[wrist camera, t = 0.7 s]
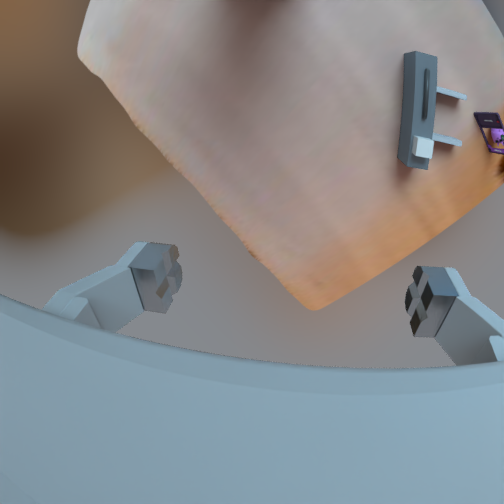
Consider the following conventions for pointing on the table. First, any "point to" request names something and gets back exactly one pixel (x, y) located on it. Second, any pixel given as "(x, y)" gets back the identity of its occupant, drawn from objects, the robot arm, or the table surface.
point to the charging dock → (421, 110)
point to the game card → (497, 129)
